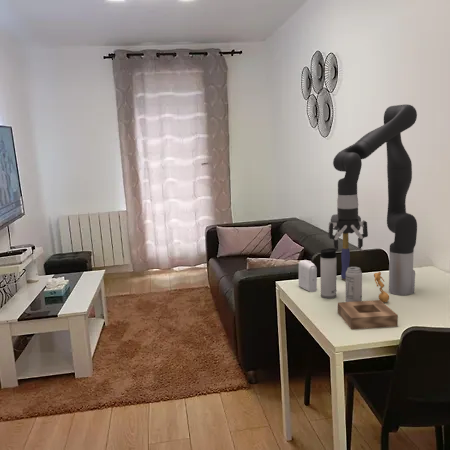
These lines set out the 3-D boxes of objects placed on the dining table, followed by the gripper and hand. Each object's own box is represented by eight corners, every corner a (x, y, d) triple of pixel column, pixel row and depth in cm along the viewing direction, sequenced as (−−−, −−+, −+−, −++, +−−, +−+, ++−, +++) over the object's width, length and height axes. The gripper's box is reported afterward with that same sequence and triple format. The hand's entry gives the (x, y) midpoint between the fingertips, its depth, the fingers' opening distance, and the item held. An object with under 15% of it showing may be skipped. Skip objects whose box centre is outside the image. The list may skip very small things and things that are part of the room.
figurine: (386, 306, 188) (386, 275, 186) (370, 303, 191) (370, 273, 189) (391, 299, 195) (392, 270, 192) (376, 297, 198) (377, 268, 196)
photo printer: (318, 291, 209) (318, 262, 207) (309, 292, 207) (309, 264, 205) (305, 284, 218) (305, 257, 216) (297, 286, 217) (297, 258, 215)
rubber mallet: (329, 280, 224) (329, 215, 218) (334, 276, 230) (334, 212, 225) (357, 283, 217) (357, 216, 212) (361, 278, 224) (362, 213, 219)
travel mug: (337, 299, 198) (337, 250, 194) (320, 298, 199) (320, 250, 196) (337, 294, 204) (337, 247, 200) (320, 293, 205) (320, 246, 202)
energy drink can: (364, 307, 187) (365, 269, 184) (349, 309, 186) (350, 271, 183) (357, 302, 193) (357, 265, 190) (342, 304, 191) (342, 267, 189)
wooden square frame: (379, 310, 184) (380, 299, 183) (397, 326, 168) (397, 315, 167) (337, 312, 183) (337, 302, 182) (351, 329, 167) (351, 318, 166)
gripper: (364, 204, 187) (364, 245, 190) (326, 205, 188) (327, 247, 190) (369, 206, 180) (369, 250, 182) (330, 208, 180) (330, 252, 183)
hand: (348, 248), depth 186 cm, fingers open, 8 cm apart
